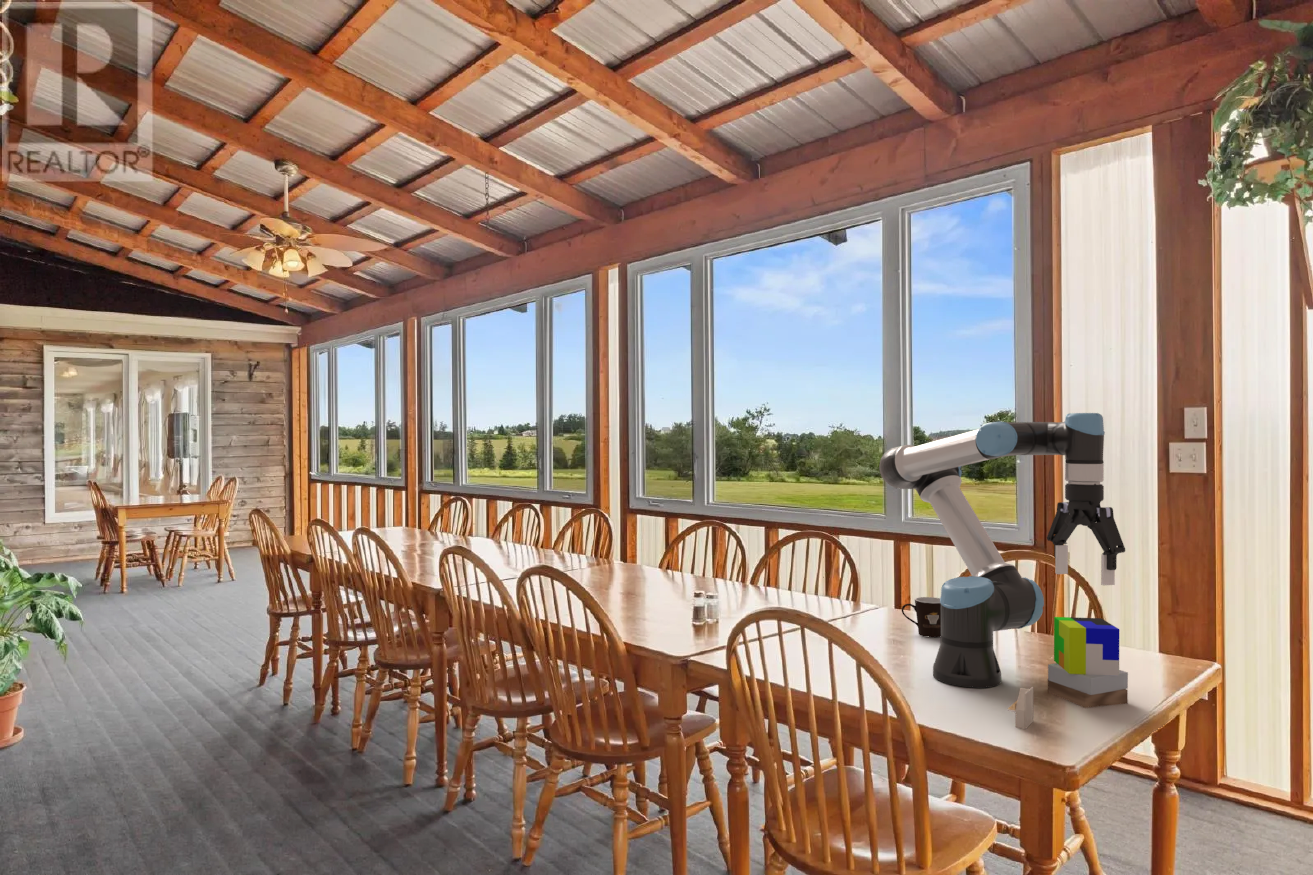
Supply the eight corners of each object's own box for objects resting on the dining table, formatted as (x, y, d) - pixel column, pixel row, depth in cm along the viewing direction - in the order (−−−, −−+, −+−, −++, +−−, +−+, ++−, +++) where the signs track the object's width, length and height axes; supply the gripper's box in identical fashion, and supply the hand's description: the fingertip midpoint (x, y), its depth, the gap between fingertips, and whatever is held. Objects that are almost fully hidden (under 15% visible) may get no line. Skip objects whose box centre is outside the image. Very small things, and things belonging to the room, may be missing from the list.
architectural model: (1007, 727, 162) (1007, 690, 162) (1017, 718, 168) (1017, 682, 167) (1025, 731, 160) (1025, 694, 160) (1034, 721, 165) (1035, 685, 165)
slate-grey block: (1091, 695, 172) (1091, 678, 172) (1048, 680, 182) (1048, 664, 182) (1127, 688, 176) (1127, 672, 176) (1083, 674, 186) (1083, 659, 186)
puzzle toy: (1119, 675, 173) (1119, 629, 173) (1069, 673, 175) (1069, 627, 175) (1101, 662, 183) (1101, 618, 183) (1053, 660, 185) (1054, 616, 185)
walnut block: (1084, 710, 172) (1084, 694, 172) (1047, 694, 183) (1047, 679, 183) (1127, 706, 175) (1127, 689, 175) (1088, 690, 186) (1088, 675, 186)
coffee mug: (949, 633, 235) (949, 599, 235) (942, 640, 228) (942, 604, 228) (908, 628, 242) (908, 594, 241) (900, 634, 234) (900, 599, 234)
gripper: (1144, 486, 168) (1144, 589, 168) (1058, 479, 192) (1057, 568, 192) (1114, 487, 166) (1114, 590, 166) (1030, 479, 190) (1030, 570, 190)
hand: (1083, 579), depth 179 cm, fingers open, 13 cm apart
